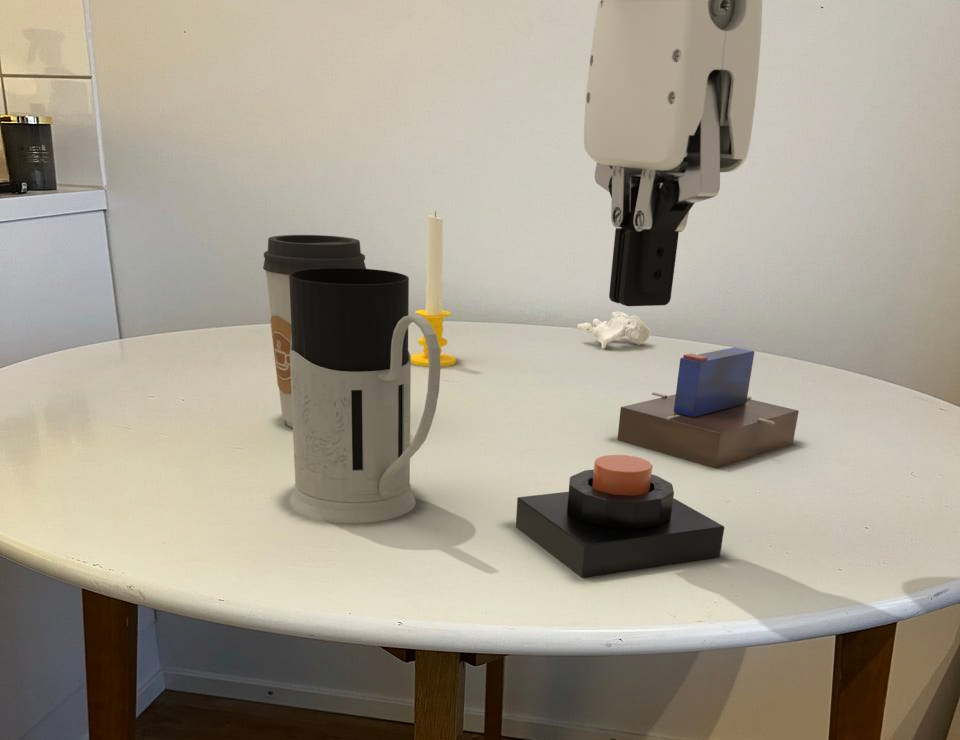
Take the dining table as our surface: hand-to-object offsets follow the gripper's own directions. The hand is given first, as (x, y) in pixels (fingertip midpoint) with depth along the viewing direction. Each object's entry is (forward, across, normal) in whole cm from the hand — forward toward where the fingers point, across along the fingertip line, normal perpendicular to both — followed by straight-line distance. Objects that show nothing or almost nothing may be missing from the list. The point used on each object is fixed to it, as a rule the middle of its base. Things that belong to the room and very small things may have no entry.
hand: (639, 302), depth 59 cm
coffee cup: (+15, +33, +10) cm, 38 cm away
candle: (+15, +54, -9) cm, 57 cm away
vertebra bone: (+15, +58, -35) cm, 69 cm away
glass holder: (+15, +10, +13) cm, 22 cm away
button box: (+15, 0, 0) cm, 15 cm away
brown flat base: (+15, +18, -20) cm, 31 cm away
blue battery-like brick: (+12, +18, -20) cm, 29 cm away
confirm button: (+11, 0, 0) cm, 11 cm away
